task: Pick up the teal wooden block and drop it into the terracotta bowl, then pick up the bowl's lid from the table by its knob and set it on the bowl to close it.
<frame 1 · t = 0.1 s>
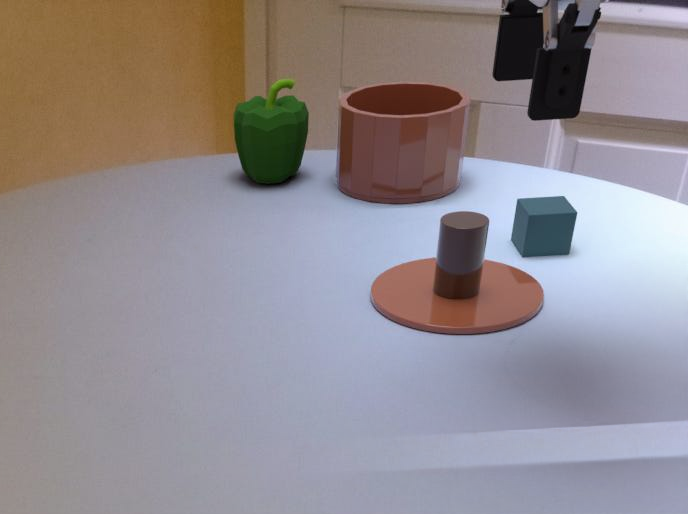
hand: (532, 97, 66), 19 cm above the table, tool pointing down, fingers open, 9 cm apart
bowl lid: (455, 296, 86), point 1 cm above the table
block: (538, 252, 93), on the table
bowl: (397, 182, 110), on the table
bell pepper: (271, 179, 113), on the table
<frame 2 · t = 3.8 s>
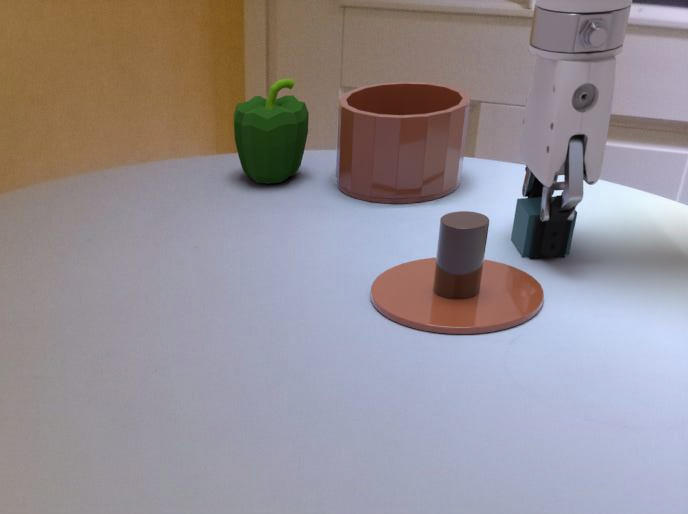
hand: (539, 249, 93), 0 cm above the table, tool pointing down, fingers closed on block, 4 cm apart
block: (538, 252, 93), on the table, touching gripper
everything else where it was.
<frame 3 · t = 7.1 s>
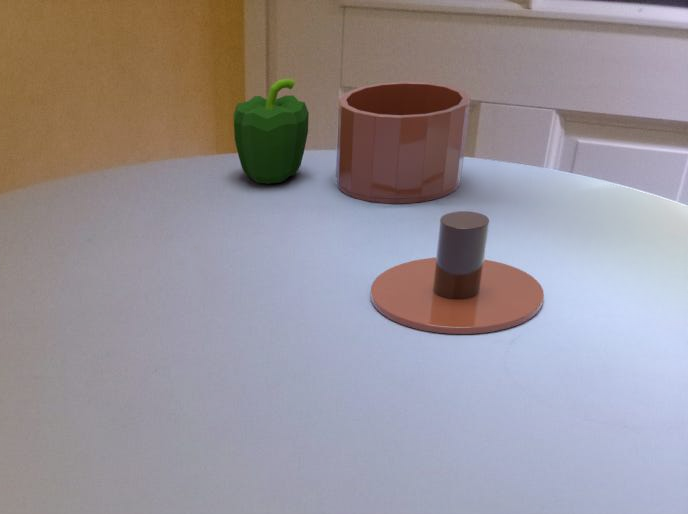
when the fingers open (6 cm above the table, at t = 10.7 s): block drops 5 cm, resting on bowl.
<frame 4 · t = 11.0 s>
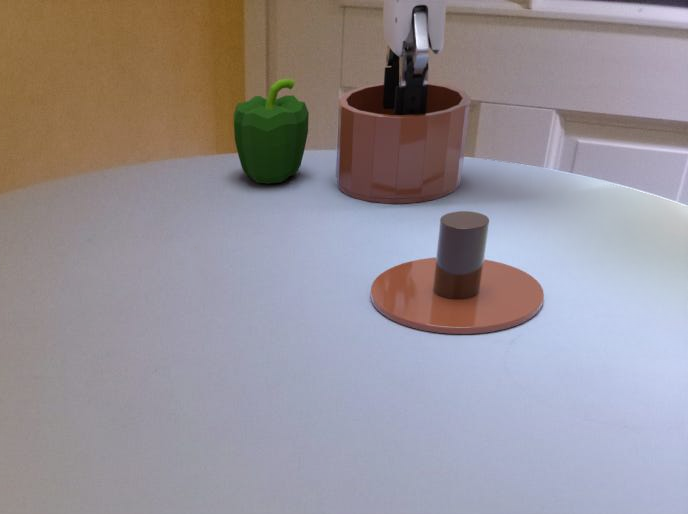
hand: (402, 116, 105), 7 cm above the table, tool pointing down, fingers open, 7 cm apart
block: (397, 177, 109), resting on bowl
everything else where it was.
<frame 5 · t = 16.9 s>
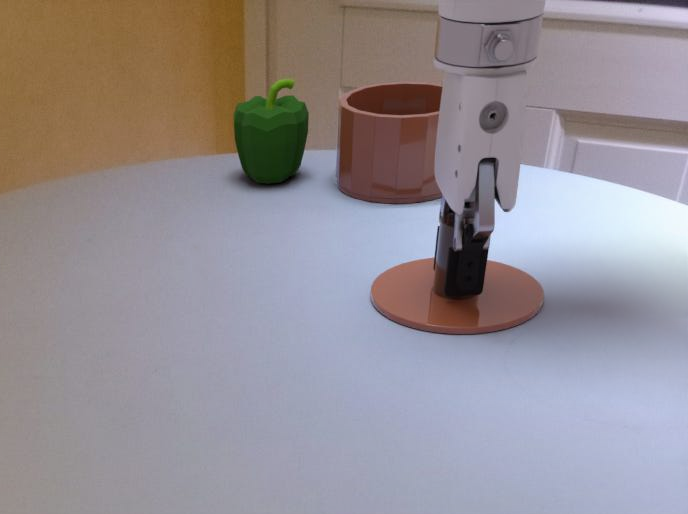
hand: (457, 280, 85), 2 cm above the table, tool pointing down, fingers closed on bowl lid, 4 cm apart
bowl lid: (455, 296, 86), point 1 cm above the table, touching gripper
everything else where it was.
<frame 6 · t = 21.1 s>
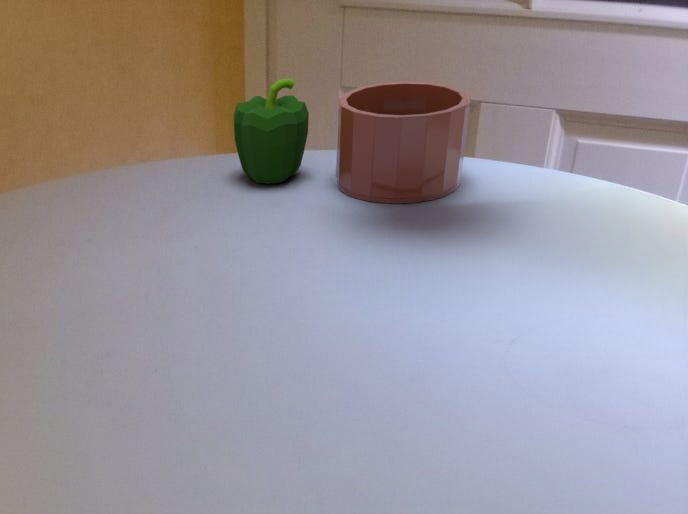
when the fingers open (10 cm above the table, at t = 25.3 s): bowl lid stays where it is, resting on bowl.
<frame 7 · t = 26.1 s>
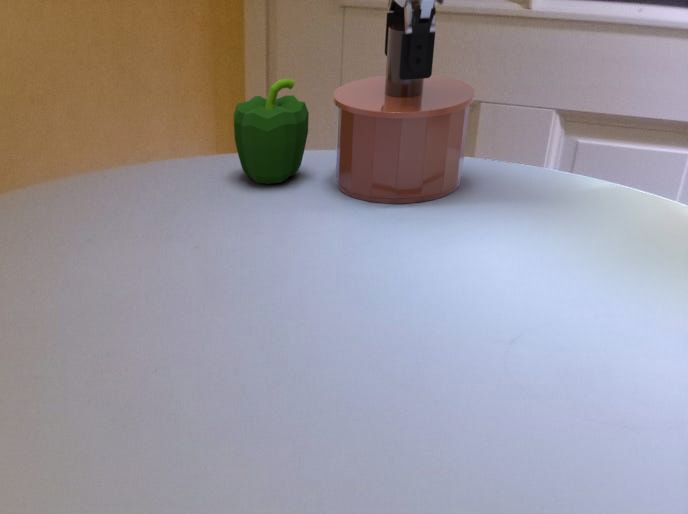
hand: (406, 66, 102), 12 cm above the table, tool pointing down, fingers open, 9 cm apart
bowl lid: (403, 98, 104), point 8 cm above the table, touching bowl
everything else where it was.
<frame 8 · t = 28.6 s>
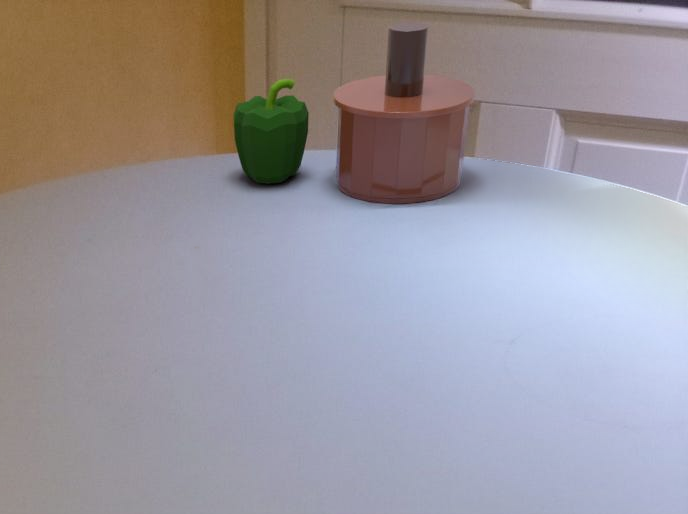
nothing on the table moved.
at the end: block inside the target area in the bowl (0.0 cm from its centre), point 0.5 cm above the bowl's base; bowl lid 0.1 cm off-centre on the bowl, point 8.5 cm above the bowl's base; bowl lid tilted 0° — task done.
